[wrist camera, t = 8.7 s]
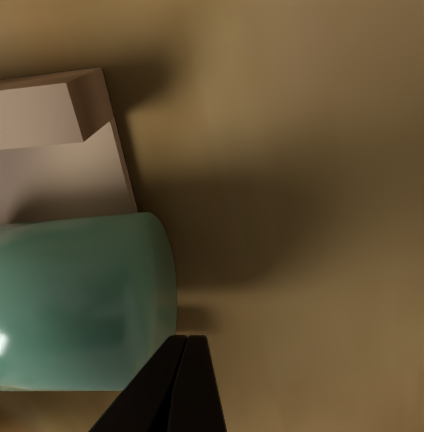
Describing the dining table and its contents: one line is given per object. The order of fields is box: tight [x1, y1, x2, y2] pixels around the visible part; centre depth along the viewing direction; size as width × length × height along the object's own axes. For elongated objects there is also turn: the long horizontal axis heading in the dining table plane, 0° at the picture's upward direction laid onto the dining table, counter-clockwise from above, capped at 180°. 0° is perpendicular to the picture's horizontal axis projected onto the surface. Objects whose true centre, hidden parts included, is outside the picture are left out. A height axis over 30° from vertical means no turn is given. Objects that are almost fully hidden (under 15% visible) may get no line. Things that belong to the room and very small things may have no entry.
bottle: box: [0, 212, 177, 391], centre depth 12 cm, size 5×5×9 cm
